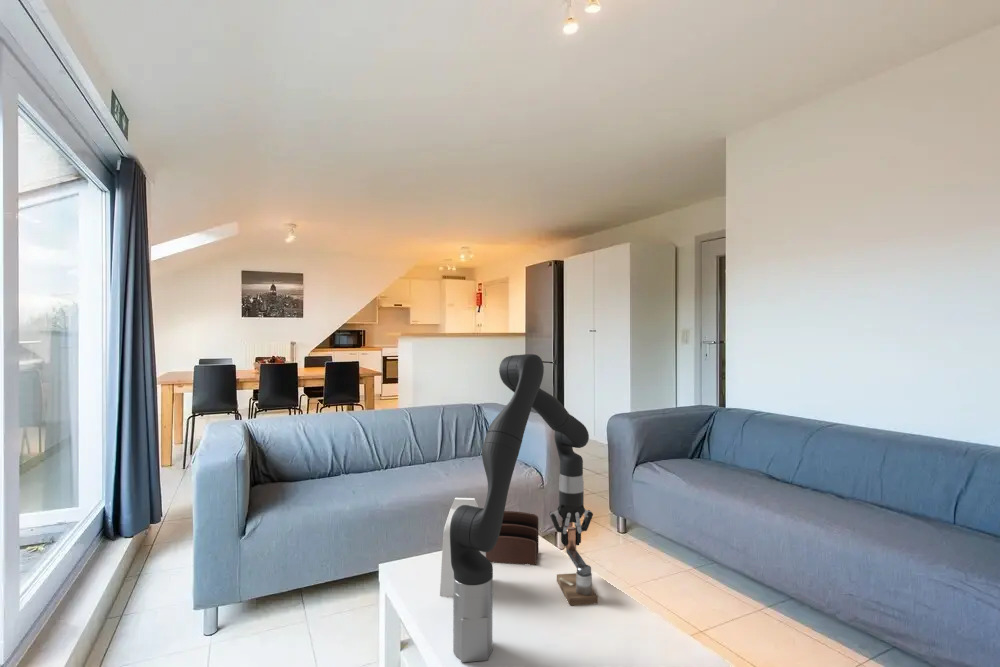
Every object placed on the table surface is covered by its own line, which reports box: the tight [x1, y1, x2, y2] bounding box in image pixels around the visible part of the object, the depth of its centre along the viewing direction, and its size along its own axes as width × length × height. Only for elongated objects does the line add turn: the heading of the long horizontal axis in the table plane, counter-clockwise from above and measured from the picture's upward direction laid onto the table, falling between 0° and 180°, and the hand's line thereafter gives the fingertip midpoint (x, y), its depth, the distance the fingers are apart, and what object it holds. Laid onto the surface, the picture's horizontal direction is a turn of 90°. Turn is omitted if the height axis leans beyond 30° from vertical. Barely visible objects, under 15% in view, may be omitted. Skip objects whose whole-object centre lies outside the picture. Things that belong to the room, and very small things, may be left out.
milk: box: [439, 497, 486, 598], centre depth 148 cm, size 12×12×26 cm
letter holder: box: [486, 510, 539, 566], centre depth 169 cm, size 10×20×14 cm, turn 82°
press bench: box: [556, 571, 599, 606], centre depth 146 cm, size 14×8×7 cm, turn 8°
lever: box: [565, 526, 592, 576], centre depth 148 cm, size 17×4×8 cm, turn 8°
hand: (571, 544), depth 155 cm, fingers closed on lever, 3 cm apart
